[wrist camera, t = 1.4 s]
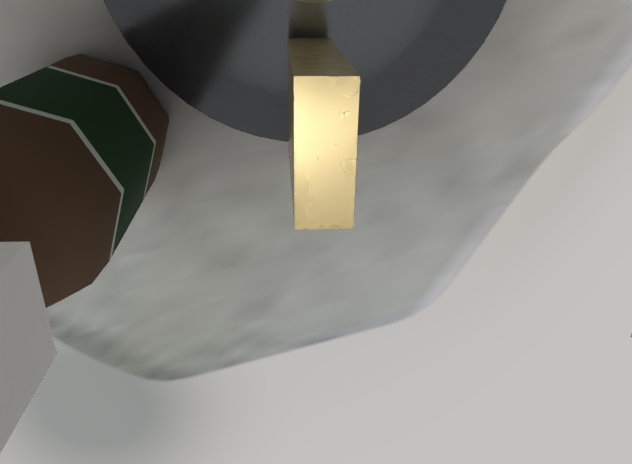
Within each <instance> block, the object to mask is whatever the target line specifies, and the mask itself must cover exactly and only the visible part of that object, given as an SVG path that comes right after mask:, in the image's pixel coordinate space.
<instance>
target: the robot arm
mask: <svg viewBox="0 0 632 464" xmlns="http://www.w3.org/2000/svg"><path fill="white" fill-rule="evenodd" d="M631 337H632V335H631ZM56 354H57V352H56V348H55V344H54V340H53V336H52V331H51V327H50V323H49V319H48V315H47V311H46V307H45V303H44V299H43V295H42V290H41V286H40V282H39V278H38V274H37V270H36V266H35V262H34V258H33V254H32V249H31V245H30V241H29V242H0V453H1V451H2V449H3V448H4V446H5V444H6V442H7V441H8V439H9V437H10V435H11V434H12V432H13V430H14V428H15V426H16V425H17V423H18V421H19V419H20V418H21V416H22V414H23V412H24V411H25V409H26V407H27V405H28V404H29V402H30V400H31V398H32V396H33V394H34V393H35V391H36V389H37V388H38V386H39V384H40V382H41V381H42V379H43V377H44V375H45V374H46V372H47V370H48V368H49V366H50V365H51V363H52V361H53V359H54V357H55V356H56Z"/></svg>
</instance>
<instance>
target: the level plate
mask: <svg viewBox="0 0 632 464" xmlns="http://www.w3.org/2000/svg"><path fill="white" fill-rule="evenodd" d="M104 2H105V4H106V6H107V8H108V10H109V12H110V14H111V16H112V18H113V20H114V21H115V23H116V24H117V26H118V28H119V29H120V31H121V33H122V34H123V36H124V38H125V39H126V41H127V42H128V44H129V45H130V46H131V47H132V49H133V50H134V51H135V53H136V54H137V55H138V56H139V58H140V59H141V60H142V61H143V63H144V64H145V65H146V66H147V67H148V68H149V69H150V70H151V71H152V72H153V73H154V74H155V75H156V76H157V78H158V79H159V80H160V81H161V82H162V83H163V84H164V85H165V86H167V87H168V88H169V89H170V90H172V91H173V92H174V93H175V94H177V95H178V96H179V97H180V98H182V99H183V100H184V101H185V102H186V103H188V104H189V105H191V106H193V107H194V108H196V109H197V110H199V111H201V112H202V113H204V114H206V115H207V116H209V117H210V118H212V119H215V120H217V121H219V122H221V123H223V124H225V125H228V126H230V127H232V128H234V129H237V130H240V131H243V132H247V133H250V134H253V135H256V136H259V137H265V138H270V139H276V140H281V141H288V46H287V38H331V39H332V40H333V41H334V43H335V44H336V45H337V47H338V48H339V49H340V50H341V52H342V53H343V54H344V56H345V57H346V58H347V60H348V61H349V62H350V63H351V65H352V66H353V67H354V69H355V70H356V71H357V73H358V74H359V75H360V91H359V113H358V134H357V136H358V135H361V134H364V133H367V132H370V131H373V130H376V129H379V128H382V127H384V126H386V125H388V124H390V123H392V122H394V121H396V120H398V119H400V118H402V117H404V116H406V115H408V114H409V113H411V112H412V111H414V110H415V109H417V108H419V107H420V106H422V105H423V104H425V103H426V102H427V101H429V100H430V99H431V98H432V97H434V96H435V95H436V94H437V93H438V92H440V91H441V90H442V89H443V88H445V87H446V86H447V85H448V84H449V83H450V82H451V81H452V80H453V79H454V78H455V77H456V76H457V75H458V73H459V72H460V71H461V70H462V69H463V68H464V67H465V66H466V65H467V64H468V62H469V61H470V60H471V58H472V57H473V56H474V55H475V53H476V52H477V51H478V49H479V48H480V47H481V45H482V44H483V43H484V41H485V39H486V38H487V36H488V34H489V33H490V31H491V29H492V28H493V26H494V24H495V23H496V21H497V19H498V18H499V15H500V13H501V11H502V9H503V7H504V4H505V2H506V0H104Z"/></svg>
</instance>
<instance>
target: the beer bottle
mask: <svg viewBox="0 0 632 464" xmlns="http://www.w3.org/2000/svg"><path fill="white" fill-rule="evenodd" d="M168 122H169V119H168V118H167V116H166V115H165V113H164V111H163V110H162V108H161V107H160V105H159V104H158V102H157V101H156V99H155V98H154V96H153V95H152V93H151V91H150V90H149V88H148V87H147V85H146V84H145V82H144V81H143V79H142V78H141V76H140V75H139V73H138V71H134V70H131V69H128V68H124V67H121V66H118V65H114V64H111V63H108V62H104V61H101V60H98V59H95V58H91V57H88V56H85V55H81V54H79V55H75V56H71V57H67V58H65V59H63V60H61V61H59V62H56V63H54V64H52V65H50V66H47V67H45V68H43V69H41V70H38V71H36V72H34V73H32V74H30V75H27V76H25V77H23V78H21V79H18V80H16V81H14V82H12V83H10V84H7V85H5V86H3V87H1V88H0V242H29V241H30V245H31V249H32V254H33V258H34V262H35V266H36V270H37V274H38V278H39V282H40V286H41V290H42V295H43V299H44V303H45V307H46V308H47V307H49V306H51V305H53V304H55V303H57V302H59V301H61V300H63V299H64V298H66V297H68V296H70V295H72V294H74V293H75V292H77V291H79V290H81V289H83V288H84V287H86V286H88V285H90V284H92V283H93V281H94V280H95V279H96V277H97V276H98V275H99V273H100V272H101V271H102V270H103V268H104V267H105V266H106V264H107V263H108V262H109V260H110V258H111V257H112V255H113V253H114V251H115V249H116V248H117V246H118V244H119V242H120V241H121V239H122V237H123V235H124V233H125V232H126V230H127V228H128V226H129V224H130V223H131V221H132V219H133V217H134V216H135V214H136V212H137V210H138V208H139V207H140V205H141V203H142V201H143V200H144V198H145V196H146V194H147V192H148V191H149V189H150V187H151V185H152V183H153V182H154V180H155V177H156V174H157V172H158V169H159V165H160V160H161V156H162V151H163V146H164V141H165V137H166V132H167V127H168Z"/></svg>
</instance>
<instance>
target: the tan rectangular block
mask: <svg viewBox="0 0 632 464" xmlns="http://www.w3.org/2000/svg"><path fill="white" fill-rule="evenodd" d="M287 46H288V142H289V159H290V173H291V187H292V200H293V214H294V228H295V230H297V229H352V228H353V219H354V198H355V176H356V155H357V134H358V113H359V91H360V75H359V74H358V73H357V71H356V70H355V69H354V67H353V66H352V65H351V63H350V62H349V61H348V60H347V58H346V57H345V56H344V54H343V53H342V52H341V50H340V49H339V48H338V47H337V45H336V44H335V43H334V41H333V40H332V39H331V38H287Z"/></svg>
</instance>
